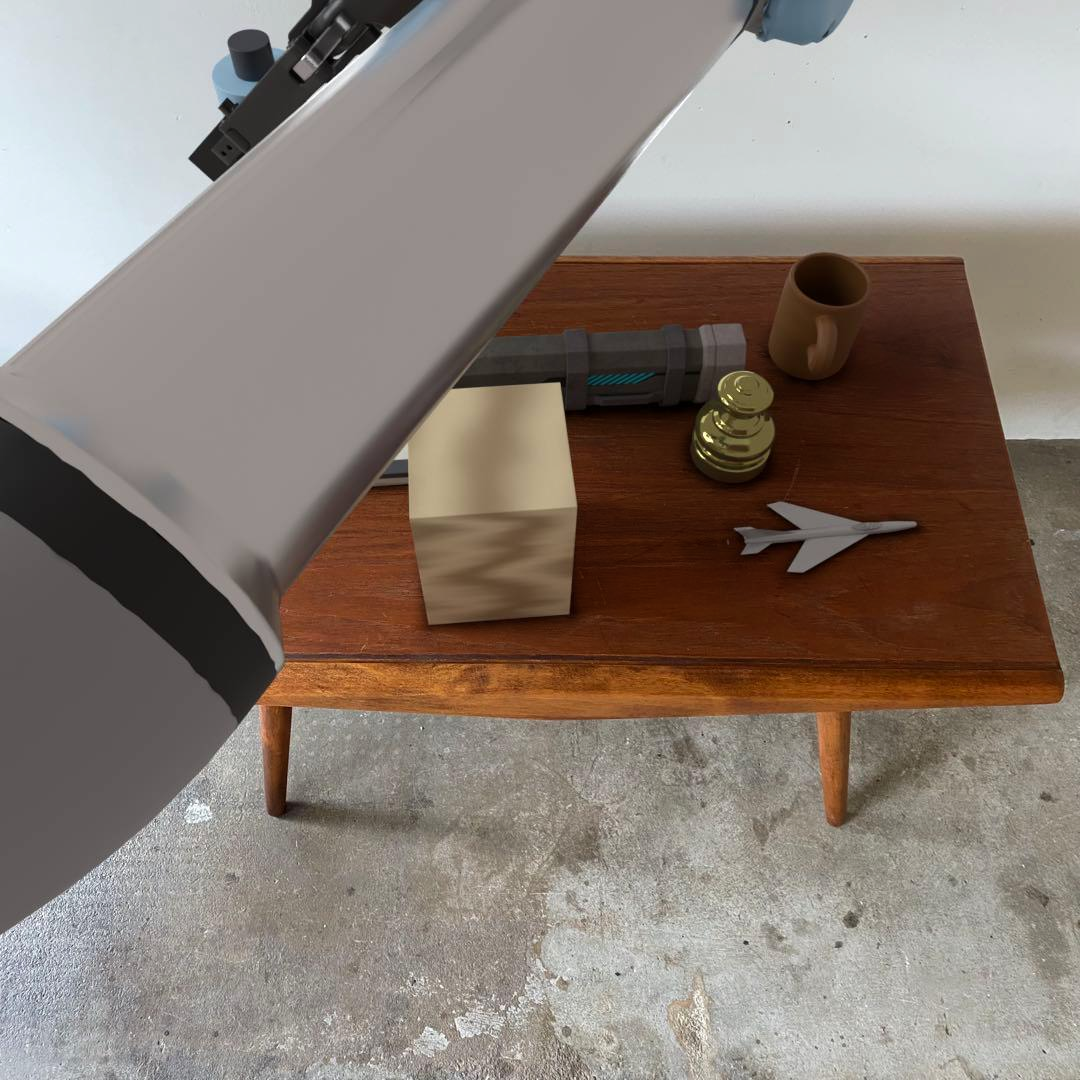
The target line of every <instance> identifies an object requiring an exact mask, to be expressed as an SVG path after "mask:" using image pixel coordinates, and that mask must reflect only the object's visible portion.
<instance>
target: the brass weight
mask: <svg viewBox="0 0 1080 1080" xmlns="http://www.w3.org/2000/svg"><path fill="white" fill-rule="evenodd" d="M774 398H775V391H774V389H773V385H772V384H771V383H770V382H769V381H768V379H766V378H765V377H764V376H763V375H760V374H759V373H757V372H753V371H749V370H744V371H734V372H731V373H728V374H727V375H725V376H724V377H723V378H722V379H721V380H720V382H719V384H718V386H717V398H714V399H712V400H710V401H709V402H707V403H704V405H702V407H700V409H699V410H698V412H697V414H696V417H695V421H694V428H693V430H692V434H691V442H690V447H689V451H690V457H691V460H692V461H693V464H694V465H695V466H696V468H698V470H699V471H700V472H701V473H703V474H704V475H705V476H707V477H709V478H710V479H713V480H715V481H718V482H721V483H727V484H739V483H745V482H748V481H750V480H752V479H754V478H756V477H757V476H758V475H760V474H761V473H762V471H763V470H764V468H765V466H766V464H767V461H768V458H769V457H770V454H771V452H772V447H773V444H774V442H775V440H776V436H777V425H776V422H775V420H774V416H772V414H771V413H770V411H769V409H770V408H771V406H772V404H773V402H774Z"/></svg>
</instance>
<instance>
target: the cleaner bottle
mask: <svg viewBox="0 0 1080 1080" xmlns="http://www.w3.org/2000/svg"><path fill="white" fill-rule="evenodd" d="M227 47H228V51H229V54H226V55H225V56H223V57H221V59H220V60H219V61H217V63H216V64H215V65H214V66H213V68H212V71H211V80H212V83H213V86H214V90H215V93H216V97H217V100H218V103H219V106H220V105H221V104H222V102H223V101H224V100H225V99H226V98H227V97H228V98H229V99H230V100H231V101H232V102H233V103H234V104H236V103H238V104H240V102H241V101H242V100H243V99H244V98H245V97H246V96H247V94H248V93H249V92H250V91H251V90H252V89H253V88H254V86H255V85H256V84H257V83H258V82H259V81H260V79H261V78H262V77H263V76H264V75H265V74H266V73H267V71H268V70H269V69H270V68H271V67H272V66H273V65H274V63H275V62H276V61H277V60H278V59H279V58H280V56H281V55H282V54H283V53H284V52H285V51H286V50H284V49H281V48H278V47H272V43H271V40H270V36H269V35H268V34H267V32H265V31H263V30H261V29H256V28H246V29H242V30H238V31H236V32H234V33H232V34H231V35H230V36H229V37H228V39H227ZM307 101H308V100H307ZM307 101H306V102H307ZM306 102H305V103H306ZM221 114H222V118H223V117H224V116H225V115H224V114H223V113H222V112H221Z"/></svg>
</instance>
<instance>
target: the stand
mask: <svg viewBox="0 0 1080 1080" xmlns="http://www.w3.org/2000/svg"><path fill="white" fill-rule="evenodd" d="M566 421H567V420H566V414H565V411H564V406H563V399H562V392H561V385H560V383H543V384H527V385H511V386H495V387H478V388H462V389H451V390H450V391H449V392H448V394H447V395H446V396H445V397H444V399H443V400H442V401H441V402H440V404H439V405H438V406H437V407H436V408H435V410H434V411H433V412H432V413H431V415H430V416H429V417H428V418H427V420H426V421H425V422H424V423H423V424H422V426H421V427H420V428H419V429H418V431H417V432H416V433H415V434H414V436H413V437H412V438H411V439H410V440H409V442H408V473H409V484H408V509H409V512H408V514H409V515H408V517H409V522H410V523H409V524H410V528H411V534H412V539H413V540H412V541H413V545H414V551H415V557H416V562H417V567H418V572H419V578H420V584H421V589H422V595H423V599H424V600H423V601H424V605H425V606H424V607H425V611H426V617H427V622H428V625H429V626H430V625H432V626H433V625H445V624H446V625H447V624H458V623H460V624H461V623H470V622H485V621H499V620H509V619H510V620H511V619H523V618H524V619H525V618H537V617H549V616H551V617H552V616H562V615H570V613H571V612H570V611H571V597H572V596H571V595H572V583H573V571H574V556H575V542H576V531H577V517H578V500H577V494H576V487H575V486H576V485H575V480H574V471H573V465H572V459H571V457H572V456H571V451H570V443H569V436H568V429H567V428H568V427H567V422H566Z"/></svg>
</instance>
